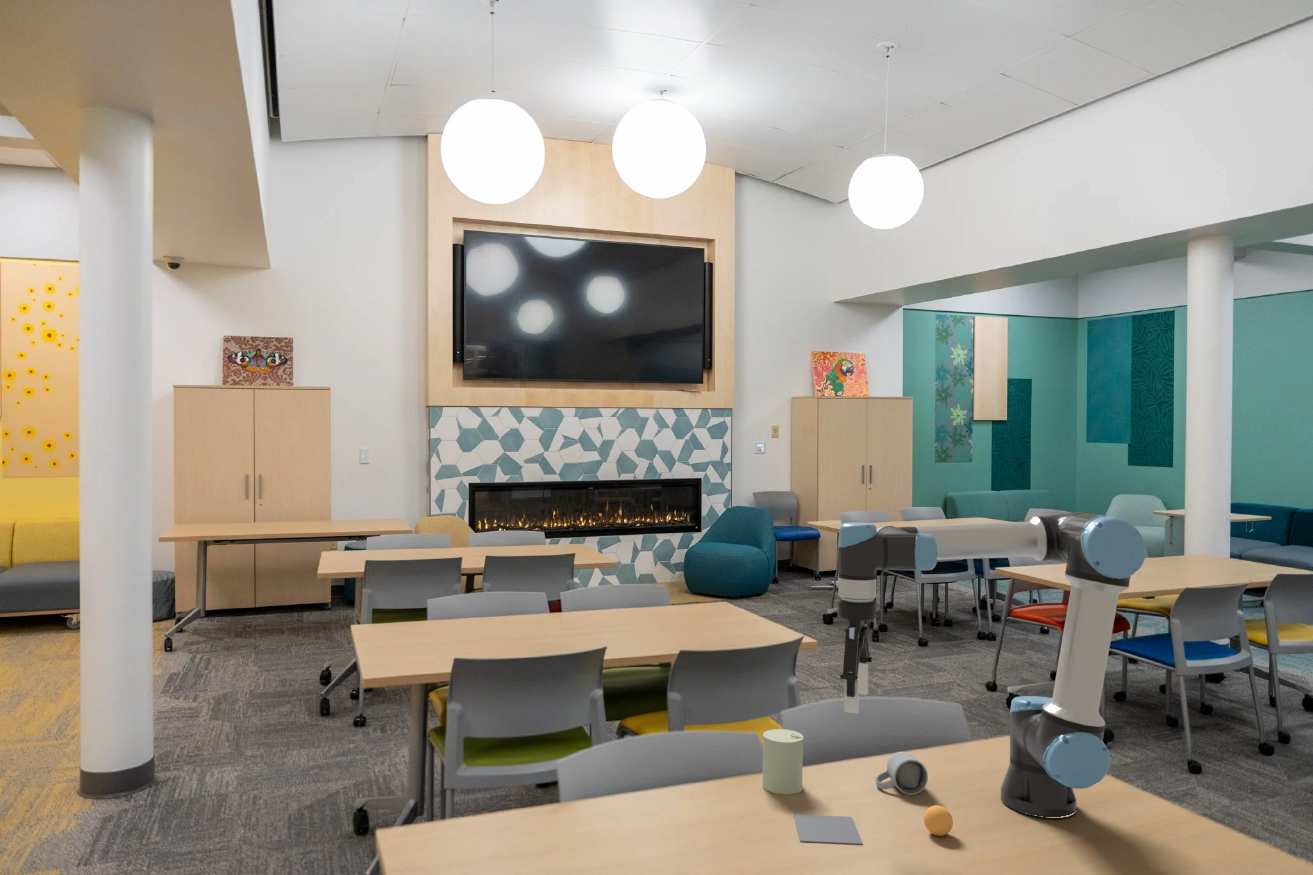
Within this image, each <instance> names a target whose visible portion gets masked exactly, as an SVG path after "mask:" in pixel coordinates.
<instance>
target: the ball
mask: <svg viewBox="0 0 1313 875" xmlns="http://www.w3.org/2000/svg"><path fill="white" fill-rule="evenodd" d="M923 823H924V826H925V828H926V829H927V830H928V832H930V833H931V834H932V835H935V836H939V837H943V836H945V835H946V836H947V835H948V834H949V833H950V832H951V831H952V828H953V825H954V824H953V823H954V821H953V817H952V814H951V813H950V811H949V810H948V809H947V808H945V807H943V806H941V805H932V806H930V807H929V808H927V810H925V813H924V815H923Z"/></svg>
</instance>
